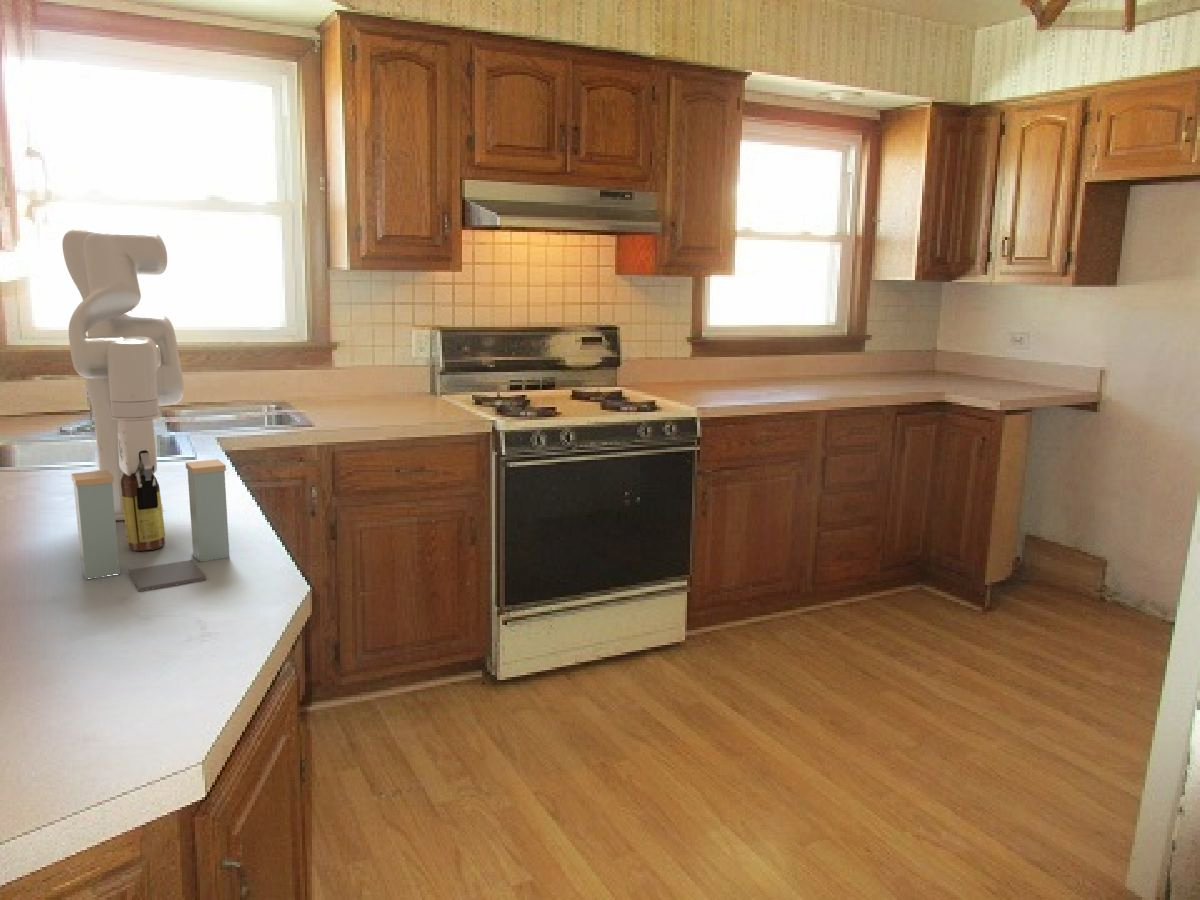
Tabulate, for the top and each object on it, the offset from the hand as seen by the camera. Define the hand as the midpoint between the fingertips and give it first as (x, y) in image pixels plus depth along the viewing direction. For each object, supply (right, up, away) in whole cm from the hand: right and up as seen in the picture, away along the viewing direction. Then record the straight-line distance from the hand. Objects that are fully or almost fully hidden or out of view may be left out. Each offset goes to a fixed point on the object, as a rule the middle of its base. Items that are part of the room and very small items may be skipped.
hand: (142, 502), depth 160 cm
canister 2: (+13, -9, -1) cm, 16 cm away
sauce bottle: (-1, -9, +2) cm, 9 cm away
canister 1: (-1, -11, -12) cm, 16 cm away
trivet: (+11, -12, -12) cm, 20 cm away
